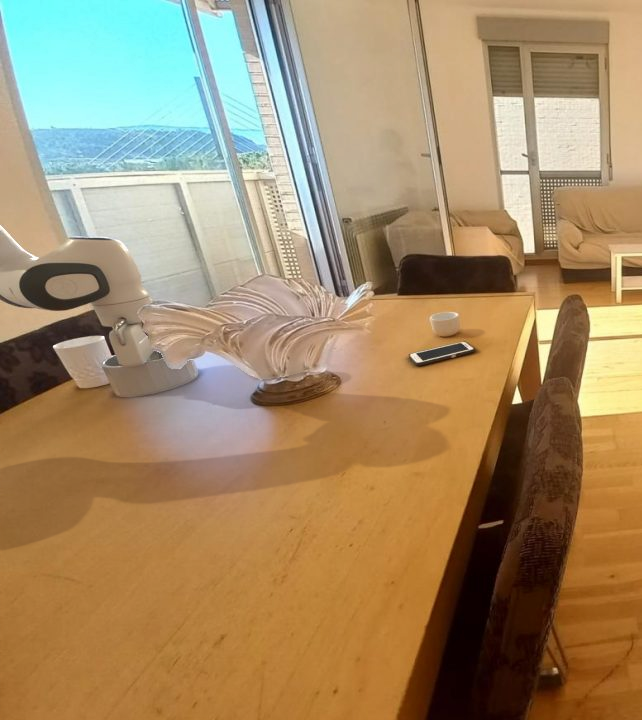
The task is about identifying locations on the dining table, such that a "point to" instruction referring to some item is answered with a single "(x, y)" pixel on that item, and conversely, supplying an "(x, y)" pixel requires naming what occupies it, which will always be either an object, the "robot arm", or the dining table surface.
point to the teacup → (445, 323)
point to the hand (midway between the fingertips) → (154, 371)
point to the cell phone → (441, 353)
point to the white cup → (85, 360)
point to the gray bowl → (146, 376)
